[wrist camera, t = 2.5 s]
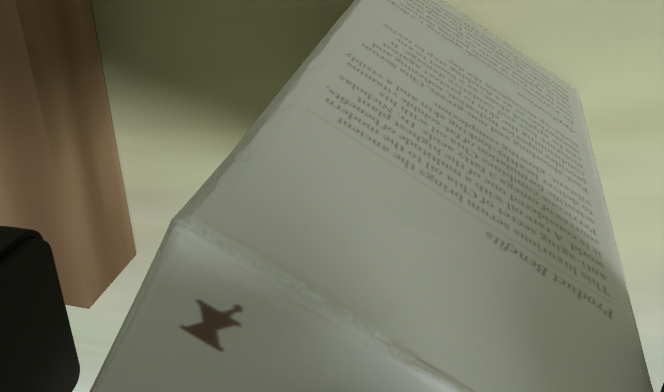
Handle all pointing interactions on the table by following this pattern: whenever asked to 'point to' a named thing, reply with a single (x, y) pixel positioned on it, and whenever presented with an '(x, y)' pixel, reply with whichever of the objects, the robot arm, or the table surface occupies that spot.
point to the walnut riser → (61, 144)
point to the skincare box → (393, 232)
